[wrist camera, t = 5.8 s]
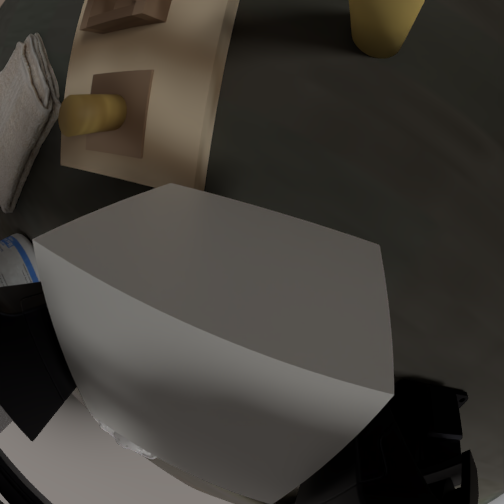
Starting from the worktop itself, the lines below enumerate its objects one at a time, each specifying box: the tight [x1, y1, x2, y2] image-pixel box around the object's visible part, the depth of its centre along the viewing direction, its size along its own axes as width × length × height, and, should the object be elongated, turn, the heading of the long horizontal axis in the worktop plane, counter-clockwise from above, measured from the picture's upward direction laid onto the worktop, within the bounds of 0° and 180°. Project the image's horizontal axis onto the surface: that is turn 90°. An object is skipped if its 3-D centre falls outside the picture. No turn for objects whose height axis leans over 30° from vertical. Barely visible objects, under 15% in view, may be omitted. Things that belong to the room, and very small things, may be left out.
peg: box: [349, 0, 425, 58], centre depth 6 cm, size 2×2×7 cm
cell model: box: [91, 414, 156, 459], centre depth 26 cm, size 10×12×7 cm
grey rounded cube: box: [32, 183, 394, 504], centre depth 7 cm, size 6×6×5 cm
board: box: [58, 0, 239, 191], centre depth 11 cm, size 16×12×5 cm
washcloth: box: [0, 33, 61, 213], centre depth 18 cm, size 12×18×3 cm, turn 124°
